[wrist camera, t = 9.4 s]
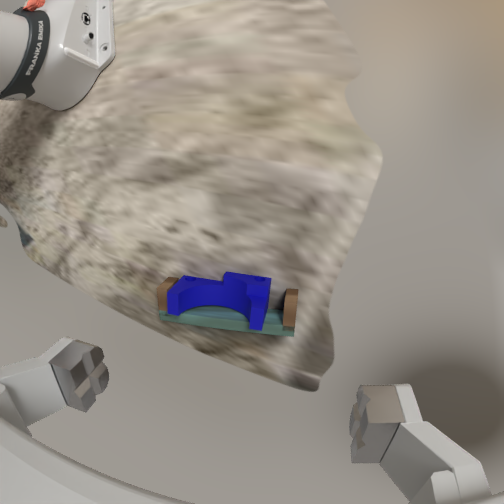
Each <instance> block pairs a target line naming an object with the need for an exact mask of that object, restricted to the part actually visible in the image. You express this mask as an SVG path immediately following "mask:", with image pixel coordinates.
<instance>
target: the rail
mask: <svg viewBox="0 0 504 504" xmlns="http://www.w3.org/2000/svg"><path fill="white" fill-rule="evenodd" d="M178 281H179V280H178V278H173V277H168V278H167V279H166V280H165V281H164V282H163V283H162V284H161V285H159V286H158V287H157V297H158V306H159V315H160V320H165V321H171V322H177V323H184V324H190V325H197V326H204V327H211V328H219V329H227V330H235V331H243V332H252V333H261V334H271V335H281V336H293V337H294V329H295V319H296V309H297V299H298V289H287V291H286V296H285V302H284V310H274V309H267V313H266V317H265V320H264V324H263V328H262V331H260V330H253V329H249V326H250V323H249V320H248V319H247V317H246V316H245V315H243V314H242V313H240V312H239V311H237V310H234V309H232V308H228V307H224V306H217V305H203V306H197V307H193V308H190V309H187V310H185V311H184V312H182V313H181V314H180V315H179V316H176V315H172V314H168V308H167V292H168V291H169V290H170V289H171V288H172V287H173V286H174V285H175V284H176V283H177V282H178Z"/></svg>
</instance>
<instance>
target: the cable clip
mask: <svg viewBox="0 0 504 504" xmlns="http://www.w3.org/2000/svg"><path fill="white" fill-rule="evenodd" d="M270 285H271V278H267V277H260V276H253V275H246V274H239V273H232V272H226V273H225V274H224V280H223V282H222V281H216V280H210V279H203V278H197V277H191V276H185V275H184V276H183V277H182V278H181V279H180V280H179V281H178V282H177V283H176V284H175V285H174V286H173V287H172V288H171V289H170V290H169V291H168V292H167V308H168V314H172V315H176V316H179V315H180V314H181V313H182V312H184V311H185V310H187V309H190V308H193V307H197V306H203V305H217V306H224V307H228V308H232V309H234V310H237V311H239V312H240V313H242V314H243V315H245V316H246V317H247V319H248V320H249V323H250V326H249V329H253V330H260V331H262V328H263V324H264V320H265V317H266V313H267V309H268V302H269V294H270Z"/></svg>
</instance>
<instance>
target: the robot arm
mask: <svg viewBox="0 0 504 504" xmlns="http://www.w3.org/2000/svg"><path fill="white" fill-rule="evenodd" d="M106 48H107V50H106V51H105V49H106ZM114 56H115V43H114V27H113V1H112V0H29V1H28V3H27V6H25V7H21V8H19V9H18V10H16V11H15V12H14V13H13V14H12V13H9V12H5V11H1V10H0V99H2V100H10V101H18V100H23V99H27V100H31V101H35V102H38V103H41V104H43V105H45V106H47V107H49V108H51V109H53V110H65V109H68V108H70V107H72V106H74V105H75V104H76V103H78V102H79V101H80V100H81V99H82V98H83V97H84V96H85V95H86V94H87V93H88V91H89V90H90V88H91V87H92V85H93V84H94V82H95V80H96V78H97V77H98V75H99V73H100V72H101V71H102V70H103V69H104V68H105V67H106V66H107V65H108V64H109V63H110V62H111V61H112V60H113V58H114ZM103 359H104V355H103V351H102V349H101V348H100V347H98V346H95V345H92V344H89V343H85V342H83V341H79V340H75V339H73V338H70V337H63V338H61V339H60V340H59V341H58V342H57V343H55V344H54V345H53V346H52V347H51V348H49V349H48V350H47V351H46V352H45V353H43V354H42V355H41V356H40V357H39V358H35V357H34V358H31V359H28V360H24V361H21V362H17V363H14V364H10V365H6V366H3V367H0V504H193V503H189V502H185V501H182V500H178V499H174V498H170V497H167V496H164V495H161V494H157V493H154V492H151V491H148V490H145V489H142V488H139V487H136V486H134V485H131V484H128V483H125V482H123V481H120V480H117V479H115V478H112V477H110V476H108V475H105V474H103V473H101V472H98V471H96V470H94V469H92V468H89V467H87V466H85V465H83V464H81V463H79V462H76V461H75V460H73V459H70V458H68V457H67V456H65V455H63V454H61V453H59V452H57V451H55V450H53V449H51V448H50V447H48V446H46V445H44V444H43V443H41V442H39V441H37V440H35V439H34V438H32V435H31V433H30V431H29V430H28V428H27V426H29V425H31V424H33V423H35V422H37V421H39V420H41V419H43V418H45V417H47V416H49V415H51V414H53V413H55V412H57V411H59V410H61V409H63V408H65V407H67V405H68V406H70V407H73V408H75V409H78V410H81V411H83V412H87V411H88V410H89V408H90V407H91V406H92V405H93V403H94V402H95V401H96V396H95V395H97V394H100V393H102V392H103V391H104V390H105V388H106V387H107V384H108V381H109V372H108V369H107V367H106V365H105V364H104V363H103V362H102V361H103ZM349 428H350V435H351V436H352V437H353V441H352V444H351V459H352V463H380V466H381V467H382V468H383V469H384V471H385V472H386V473H387V474H388V476H389V477H390V478H391V479H392V481H393V482H394V483H395V484H396V486H397V487H398V488H399V489H400V490H401V491H402V493H403V494H404V495H405V497H406V498H407V499H408V500H409V501H410V502H409V504H504V491H503V492H500V493H498V494H494V495H492V494H491V491H490V488H489V485H488V482H487V479H486V476H485V473H484V470H483V467H482V465H481V462H479V461H478V460H477V459H475V458H474V457H473V456H472V455H470V454H469V453H468V452H466V451H465V450H464V449H462V448H461V447H460V446H459V445H457V444H456V443H454V442H453V441H452V440H451V439H449V438H448V437H447V436H445V435H444V434H443V433H442V432H440V431H439V430H438V429H437V428H435V427H434V426H433V425H431V424H430V423H429V422H423V420H422V417H421V414H420V411H419V408H418V405H417V402H416V399H415V396H414V393H413V390H412V388H411V386H410V385H409V384H394V385H360V387H359V388H358V392H357V403H356V404H354V405H353V408H352V412H351V416H350V426H349Z"/></svg>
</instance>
